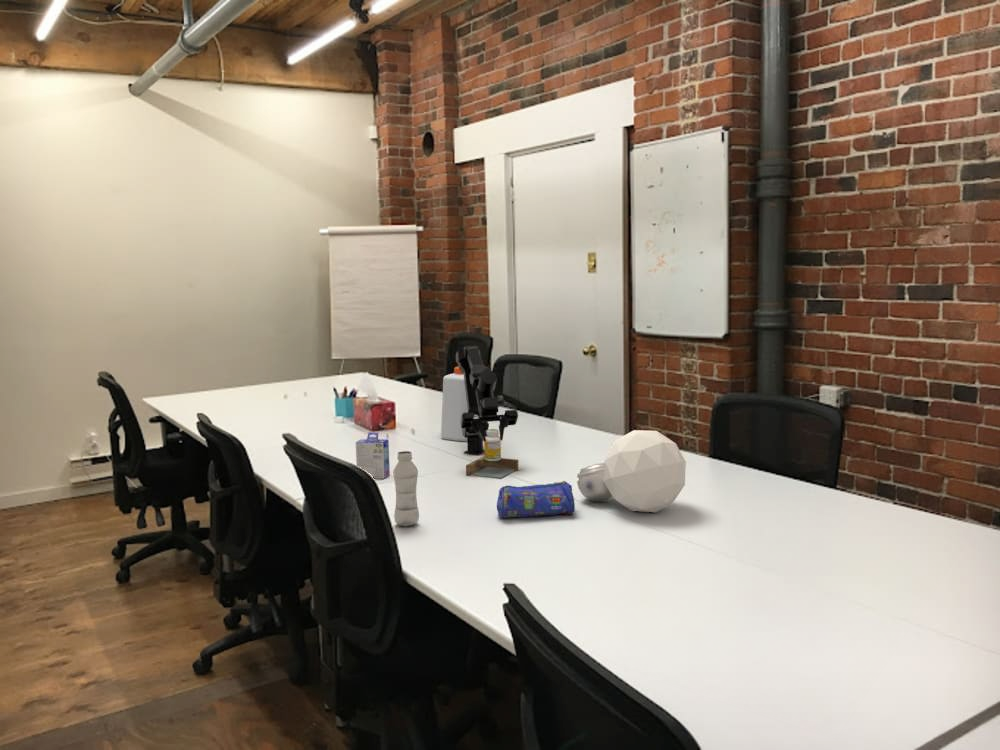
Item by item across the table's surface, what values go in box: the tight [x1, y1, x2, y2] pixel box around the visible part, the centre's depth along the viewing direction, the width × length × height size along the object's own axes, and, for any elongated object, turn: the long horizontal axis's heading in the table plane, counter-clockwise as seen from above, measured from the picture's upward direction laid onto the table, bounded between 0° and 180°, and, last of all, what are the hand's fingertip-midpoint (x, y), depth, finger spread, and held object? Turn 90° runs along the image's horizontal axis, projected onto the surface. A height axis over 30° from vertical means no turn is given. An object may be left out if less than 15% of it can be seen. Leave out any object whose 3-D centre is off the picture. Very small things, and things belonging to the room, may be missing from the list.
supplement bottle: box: [483, 428, 502, 461], centre depth 280 cm, size 5×5×10 cm
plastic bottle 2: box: [440, 366, 478, 443], centre depth 334 cm, size 15×15×28 cm
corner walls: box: [465, 455, 520, 477], centre depth 281 cm, size 13×13×4 cm
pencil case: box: [496, 480, 576, 519], centre depth 235 cm, size 22×9×10 cm, turn 99°
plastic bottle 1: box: [392, 450, 420, 527], centre depth 228 cm, size 6×7×20 cm
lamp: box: [576, 429, 687, 513], centre depth 240 cm, size 22×34×24 cm, turn 49°
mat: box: [470, 466, 516, 480], centre depth 281 cm, size 11×11×1 cm
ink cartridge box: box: [355, 432, 391, 480], centre depth 279 cm, size 10×6×14 cm, turn 78°
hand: (493, 440), depth 278 cm, fingers closed on supplement bottle, 5 cm apart
